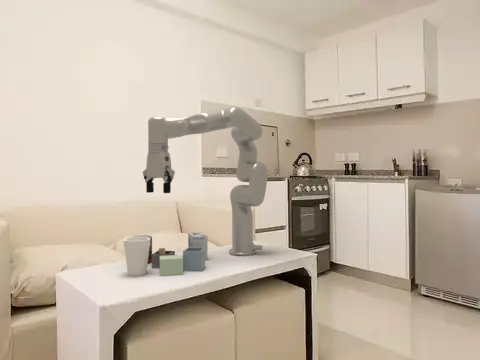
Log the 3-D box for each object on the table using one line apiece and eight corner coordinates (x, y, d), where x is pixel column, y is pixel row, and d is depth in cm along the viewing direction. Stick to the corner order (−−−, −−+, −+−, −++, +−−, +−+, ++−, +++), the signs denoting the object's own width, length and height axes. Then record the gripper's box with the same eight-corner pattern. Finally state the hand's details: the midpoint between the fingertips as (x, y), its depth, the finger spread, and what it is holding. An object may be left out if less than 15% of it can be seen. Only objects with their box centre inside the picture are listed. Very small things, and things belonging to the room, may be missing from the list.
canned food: (147, 265, 148) (147, 238, 148) (128, 264, 150) (128, 237, 150) (155, 261, 156) (155, 235, 156) (137, 260, 157) (137, 234, 157)
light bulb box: (187, 257, 164) (187, 232, 164) (202, 256, 167) (202, 232, 166) (192, 262, 154) (192, 236, 154) (208, 261, 156) (208, 235, 156)
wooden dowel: (165, 265, 146) (165, 248, 146) (164, 267, 144) (163, 249, 144) (160, 265, 146) (159, 248, 146) (158, 267, 144) (157, 249, 144)
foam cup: (151, 277, 131) (150, 240, 131) (123, 279, 128) (123, 241, 128) (149, 270, 140) (149, 236, 140) (124, 272, 138) (123, 237, 137)
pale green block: (181, 271, 139) (181, 254, 139) (182, 276, 133) (182, 258, 133) (159, 273, 137) (159, 255, 137) (160, 277, 131) (160, 259, 131)
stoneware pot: (205, 268, 144) (205, 247, 144) (201, 272, 137) (201, 251, 137) (187, 267, 145) (187, 247, 145) (183, 272, 138) (182, 251, 138)
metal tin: (174, 265, 149) (174, 250, 149) (169, 270, 142) (169, 254, 142) (158, 265, 149) (157, 250, 149) (152, 269, 142) (151, 254, 142)
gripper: (180, 148, 143) (181, 193, 144) (150, 150, 153) (150, 192, 154) (166, 147, 137) (166, 193, 137) (136, 149, 147) (136, 192, 148)
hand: (158, 192), depth 146 cm, fingers open, 9 cm apart
